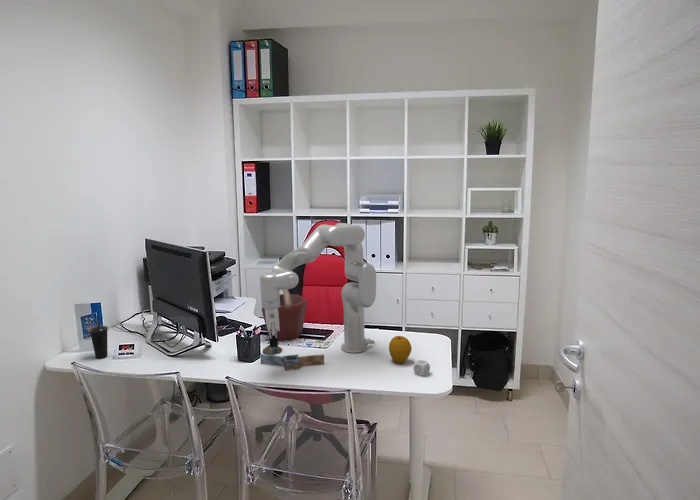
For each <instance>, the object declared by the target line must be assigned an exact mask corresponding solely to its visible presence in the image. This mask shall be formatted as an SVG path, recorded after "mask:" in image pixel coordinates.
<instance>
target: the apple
mask: <svg viewBox="0 0 700 500" xmlns="http://www.w3.org/2000/svg"><path fill="white" fill-rule="evenodd" d="M388 351H389V355H390V357H391V359H392V360H393V362H394V363H397V364H403V363H405V362H406V361H407V359H409V356H410V354H411V353H412V344H411V342H410V340H408V338H407V337H405V336H403V335H396V336H394V337H392V338H391V340H390V342H389V343H388Z"/></svg>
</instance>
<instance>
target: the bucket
mask: <svg viewBox="0 0 700 500" xmlns="http://www.w3.org/2000/svg"><path fill="white" fill-rule="evenodd" d="M281 291H282V293H283V294H281V293H279V294H280V307H278V312H279V325H280V331H277V330H276V331H277V340H278V342H285V341H284V340H288V341H294V340H293V339H295V340H297V339H298V338H299V337H301V336H302V335H301V334H303V329H304V323H305V317H306V310H307V303H308V301H307V300H308V299H307V298H305V297H303V296H301V295H299V294H291V293H290V292H289V289H282V290H281ZM261 313H262V315H263V320H264V325H265V328H266V331H267V337H268V338H269V332H268V329H267V324H266V316H265V309H263V308H262V307H261Z"/></svg>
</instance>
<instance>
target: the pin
mask: <svg viewBox="0 0 700 500" xmlns="http://www.w3.org/2000/svg"><path fill="white" fill-rule="evenodd" d="M270 330H271V329H270ZM271 331H272V330H271ZM276 333H277V332H276ZM271 334H272V333H271ZM269 337H270V332H269ZM269 337H268V338H269ZM270 352H271V353H272V354H274V355H276V354H275V353H278V347H272V348H271V347H270ZM278 354H279V353H278Z"/></svg>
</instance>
